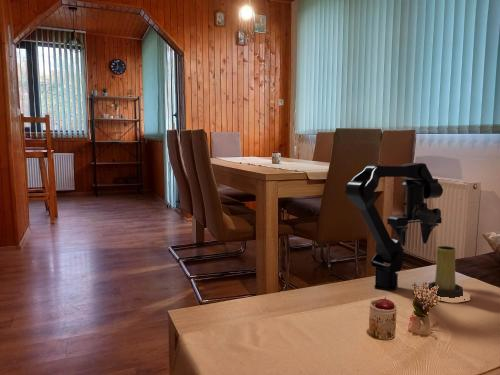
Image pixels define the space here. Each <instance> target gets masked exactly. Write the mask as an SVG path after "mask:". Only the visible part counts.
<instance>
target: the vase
mask: <svg viewBox="0 0 500 375" xmlns="http://www.w3.org/2000/svg"><path fill="white" fill-rule="evenodd" d="M456 250H457V249H456V248H455V247H454V246H447V245H438V246H437V247H436V261H435V262H436V265H435V266H436V268H435V269H436V270H435V276H434V277H435V281H434V282H435V286H437V285H438V286H439V288H438V289H440V290H447V291H456V290H455V284H456Z"/></svg>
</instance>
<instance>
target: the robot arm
mask: <svg viewBox="0 0 500 375" xmlns="http://www.w3.org/2000/svg"><path fill="white" fill-rule="evenodd" d="M383 177H384V178H385V177H386V178H395V177H396V178H401V179H405V181H404V182H402V183H401V187H405V188H406V194H405V201H403V206H405V213H403V216H401V215H390V216H388V218H387V219H386V220H387V221H386V222H387V223H386V224H387V225H390V227H391V228H392V229H393V230H394V232H395V234H396V236H397V238H398V239H399V240H398V239H394V238H391V236H390V234H389V232H388V229H387V228H386V225H385V223H384V221H383V218H382V217H381V215H380V214H379V211H378V209H377V206H376V204H375V199H376V194H375V191H376V190H377V188H378V186H379V183H380V179H381V178H383ZM344 192H345V195H346V196H347V198H348V200H349V201H350V202H351V203H352V204H353V205H354V206H356V208H358V210H360V213H361V215H362V217H363V219H364V221H365V224H366V226H367V227H368V229H369V232H370V233H371V235H372V237H373V239H374V242H375V243H376V244H375V248H374V249H375V254H374V255H373V257H372V258H371V260H370V265H371V267H372V268H375V271H374V272H375V277H374V278H375V282H374V286H373V287H374V289H377V290H378V289H380V290H388V291H396V289H397V288H398V285H399V273H398V272H400V271H401V270H402V266H403V263H404V260H405V252H404V251H405V248H403V247H405V246H406V232H407V231H408V229H409V226H408V224H413V223H420V233H421V239H422V244H424V245H426V244H427V243H428V240H429V237H430V235H431V233H432V231H433V229H434V228H436V227H439V224H442V222H443V221H442V219H443V218H442V211H441V209H440V208H436V207H435V208H433V209H431V208H430V209H429V208H428V203H427V202H425V200H427V199H437V198H440V197H441V196H442V195H443V192H444V188H443V186H442V184H441V183H440V182H439V179H438V178H433V176H432V174H431V172H430V170H429V168H428V166H427V164H426V163H424V162H408V163H406V162H405V163H403V164H401V165H381V164H380V165H379V164H368V165H366V166H365V168H364V169H363V170H362V171H361V172H359V173H358V174H356V175H355V176H353V178H352V179H351V180H350V181H349V182H347V185H345V189H344Z"/></svg>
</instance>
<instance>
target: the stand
mask: <svg viewBox="0 0 500 375" xmlns="http://www.w3.org/2000/svg"><path fill="white" fill-rule="evenodd" d="M428 286H429V290H430V289H431V288H432V287H434V286H435V281H432V282H430V283H428ZM455 290H456V291H447V290H440V289H438V291H437V294H436V295H437V296H440V297H449V298H455V297H460V296H463V290H464V289H463V286H462V285H459V284H456V283H455ZM440 299H441V298H440ZM464 300H465V299H464Z"/></svg>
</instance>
